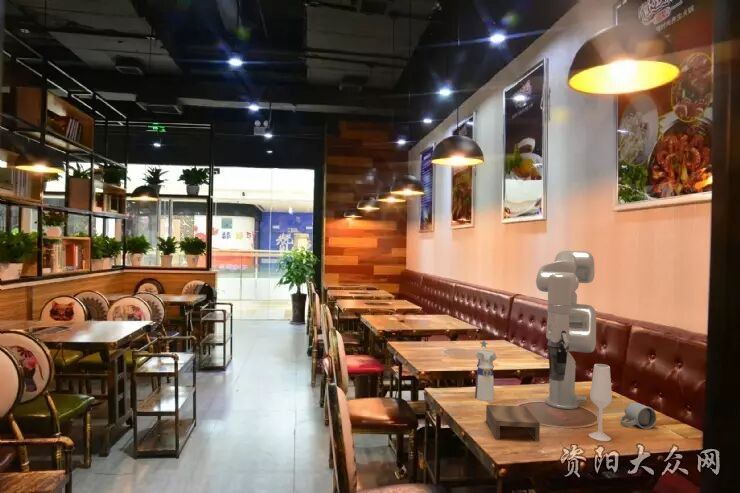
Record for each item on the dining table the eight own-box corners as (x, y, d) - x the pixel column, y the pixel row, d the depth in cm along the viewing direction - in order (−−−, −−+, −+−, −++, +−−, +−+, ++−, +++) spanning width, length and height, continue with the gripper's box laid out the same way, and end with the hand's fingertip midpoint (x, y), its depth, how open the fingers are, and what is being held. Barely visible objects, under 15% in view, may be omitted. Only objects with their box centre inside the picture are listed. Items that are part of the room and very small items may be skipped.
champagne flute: (584, 434, 162) (586, 364, 162) (598, 431, 165) (600, 362, 165) (600, 442, 156) (603, 368, 156) (615, 439, 159) (617, 367, 159)
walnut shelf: (525, 423, 171) (525, 406, 171) (539, 441, 155) (539, 422, 155) (486, 421, 172) (486, 404, 172) (495, 439, 156) (496, 420, 156)
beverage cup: (570, 383, 162) (572, 324, 162) (547, 381, 164) (549, 323, 163) (566, 376, 169) (567, 320, 169) (544, 375, 171) (545, 319, 170)
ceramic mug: (640, 420, 178) (641, 399, 178) (657, 428, 169) (657, 407, 169) (614, 421, 176) (614, 400, 176) (629, 430, 168) (630, 408, 168)
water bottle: (497, 401, 195) (499, 340, 195) (476, 401, 195) (478, 339, 195) (492, 395, 203) (494, 336, 203) (472, 394, 203) (474, 336, 203)
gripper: (540, 305, 175) (538, 353, 175) (556, 312, 158) (555, 366, 158) (560, 306, 175) (559, 354, 175) (579, 313, 157) (578, 367, 158)
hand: (557, 359), depth 166 cm, fingers closed on beverage cup, 6 cm apart
